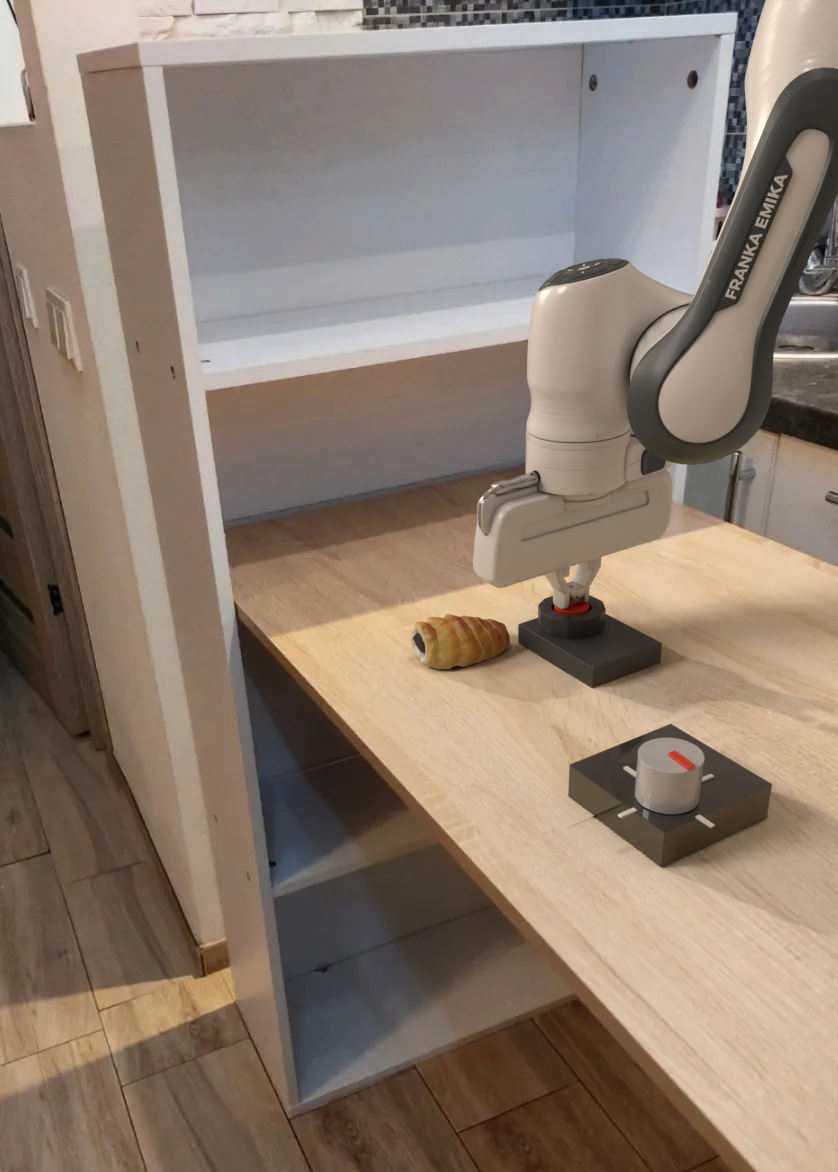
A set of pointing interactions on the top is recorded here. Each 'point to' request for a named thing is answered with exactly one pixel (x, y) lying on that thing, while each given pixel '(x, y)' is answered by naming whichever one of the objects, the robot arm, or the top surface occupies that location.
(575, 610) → the button
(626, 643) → the box
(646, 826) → the hob console
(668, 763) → the hob knob
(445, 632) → the pastry
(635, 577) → the top surface
